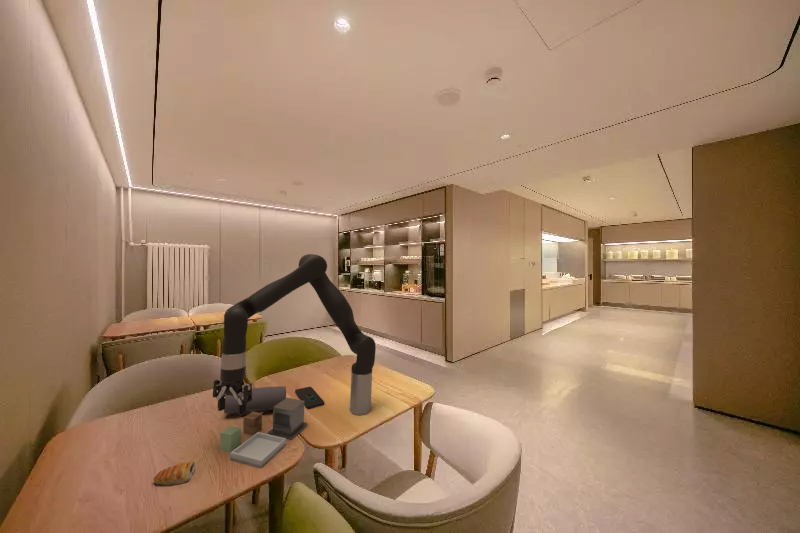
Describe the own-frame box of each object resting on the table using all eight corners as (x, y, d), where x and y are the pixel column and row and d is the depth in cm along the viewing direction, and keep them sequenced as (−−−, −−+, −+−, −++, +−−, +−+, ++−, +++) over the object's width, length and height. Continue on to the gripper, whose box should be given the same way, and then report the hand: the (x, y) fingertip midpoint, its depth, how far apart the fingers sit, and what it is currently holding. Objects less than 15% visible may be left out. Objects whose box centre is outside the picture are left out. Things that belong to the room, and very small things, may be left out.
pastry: (148, 491, 78) (149, 477, 78) (159, 474, 85) (159, 461, 85) (189, 483, 82) (190, 469, 82) (196, 467, 88) (197, 455, 88)
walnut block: (252, 427, 110) (252, 411, 110) (261, 429, 109) (262, 413, 109) (243, 433, 106) (243, 417, 106) (252, 435, 105) (253, 419, 105)
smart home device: (307, 406, 124) (294, 389, 141) (307, 410, 124) (294, 393, 141) (325, 402, 129) (311, 385, 146) (325, 405, 129) (310, 389, 146)
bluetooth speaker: (285, 403, 129) (286, 381, 129) (284, 414, 120) (285, 390, 120) (228, 409, 122) (229, 386, 122) (222, 421, 113) (223, 396, 113)
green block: (230, 442, 100) (231, 425, 100) (240, 444, 99) (241, 427, 99) (219, 450, 96) (220, 432, 96) (230, 452, 95) (230, 434, 95)
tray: (257, 438, 103) (257, 431, 103) (286, 445, 100) (286, 438, 100) (229, 459, 92) (230, 452, 92) (261, 468, 88) (261, 460, 88)
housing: (285, 420, 115) (286, 396, 115) (307, 425, 113) (308, 400, 112) (268, 434, 105) (269, 407, 105) (291, 440, 103) (292, 412, 103)
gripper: (259, 364, 99) (256, 410, 99) (226, 359, 103) (224, 403, 103) (241, 371, 92) (239, 421, 92) (207, 365, 96) (205, 413, 96)
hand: (231, 412), depth 97 cm, fingers open, 8 cm apart
